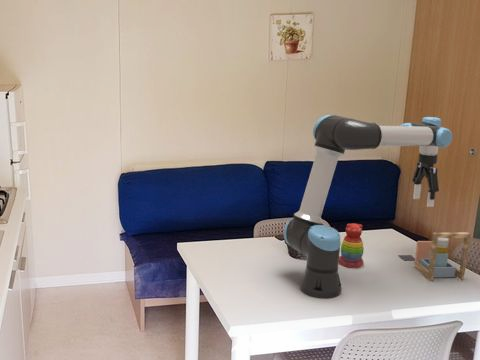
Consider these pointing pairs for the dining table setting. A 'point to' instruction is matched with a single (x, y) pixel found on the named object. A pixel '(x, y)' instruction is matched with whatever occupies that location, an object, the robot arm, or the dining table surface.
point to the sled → (423, 258)
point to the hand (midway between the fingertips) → (423, 202)
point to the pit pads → (407, 257)
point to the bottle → (441, 253)
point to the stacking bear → (352, 247)
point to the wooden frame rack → (458, 273)
